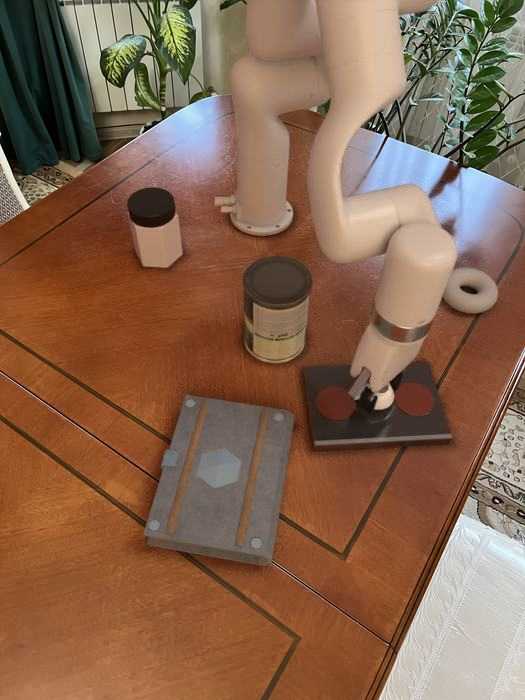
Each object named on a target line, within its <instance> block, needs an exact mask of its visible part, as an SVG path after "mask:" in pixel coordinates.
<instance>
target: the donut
mask: <svg viewBox="0 0 525 700" xmlns="http://www.w3.org/2000/svg"><path fill="white" fill-rule="evenodd" d="M497 286H498V285H497V284H496V282H495V281H494V280H493V278H492V277H491V276H490V275H488V274H487V273H486V272H484V271H481V270H479V269H477V268H473V267H458V268H453V271H452V273H451V276H450V278H449V281H448V283H447V286H446V288H445V291H444V294H443V296H442V299H443V301H444V302H445V303H446V304H447V305H449V306H450V307H451V308H453V309H454V310H456V311H459V312H462V313H465V314H480V313H485V312H487V311H488V310H490V309H492V308H493V307H494V305H495V304H496V302H497V301H498V298H499V290H498V287H497ZM461 287H468V288H471V289H473V290H474V291H476V293H475V294H473V293H468V292H465V291H464V290H463V289H462V288H461Z"/></svg>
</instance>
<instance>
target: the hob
mask: <svg viewBox="0 0 525 700" xmlns="http://www.w3.org/2000/svg"><path fill="white" fill-rule="evenodd" d="M351 365H352V364H343V365H340V364H339V365H322V366H321V365H320V366H317V365H316V366H303V371H302V373H303V383H304V388H305V396H306V402H307V410H308V417H309V418H308V419H309V425H310V432H311V439H312V447H313V451H314V452H320V451H337V450H355V449H356V450H359V449H375V448H377V449H378V448H393V447H394V448H395V447H411V446H412V447H413V446H414V447H415V446H430V445H434V446H435V445H449V444H450V443H451V442H452V439H453V434H452V433H451V431H450V428H449V424H448V421H447V417H446V415H445V414H446V413H445V411H444V408H443V404H442V402H441V398H440V395H439V391H438V388H437V386H436V382H435V379H434V375H433V373H432V369H431V366H430V362H429V361H412V362H411V363H410V364H409V365H407V369H406V370H405V371H404V372H403V373H402V374H403V377H402V380H401V382H400V385H399V388H398V389H397V390H396V391H393V392H394V400H393V403H392V404H391V405H390V406H389V407H388V408H385V409H374V411H373V412H372V413H371V414H369V413H368V412H367V411H366V410H363V409H361V408H360V407H359V406H358V405H357V403H356V402H355V400H354V399H353V398H351V397H350V396H349V395H348V392H349V391H350V389H351V388H352V386H353V385H354V383H355V382H356V380H357V378H358V377H359V375H360V374H359V375H358V376H357V377H355V378H354V377H353V376H352V375H350V369H351Z"/></svg>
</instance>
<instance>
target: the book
mask: <svg viewBox="0 0 525 700" xmlns="http://www.w3.org/2000/svg"><path fill="white" fill-rule="evenodd" d="M295 417H296V416H295V415H294V414H293V413H292V412H291V411H290V410H288V409H282V408H277V407H269V406H262V405H256V404H249V403H244V402H243V403H242V402H237V401H229V400H224V399H217V398H210V397H204V396H197V395H191V394H185V396H184V399H183V402H182V406H181V409H180V413H179V416H178V419H177V422H176V425H175V429H174V432H173V436H172V439H171V441H170V445H169V448H168V449H165V450H164V454H163V457H162V459H161V464H160V468H161V476H160V478H159V482H158V485H157V488H156V491H155V494H154V498H153V501H152V504H151V507H150V511H149V515H148V518H147V521H146V524H145V528H144V531H143V534H142V535H143V537H148V538H147V542H146V546H150V547H157V548H160V549H161V548H162V549H169V550H173V551H178V552H184V553H189V554H194V555H195V554H196V555H201V556H206V557H212V558H217V559H223V560H228V561H232V562H233V561H234V562H238V563H239V562H240V563H243V564H244V563H246V564H250V565H257V566H262V567H267V566H268V565H272V563H273V557H274V550H275V545H276V544H275V543H276V537H277V532H278V525H279V519H280V514H281V513H280V512H281V506H282V501H283V493H284V487H285V482H286V474H287V468H288V462H289V456H290V449H291V444H292V436H293V431H294V430H293V429H294V424H295Z"/></svg>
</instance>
